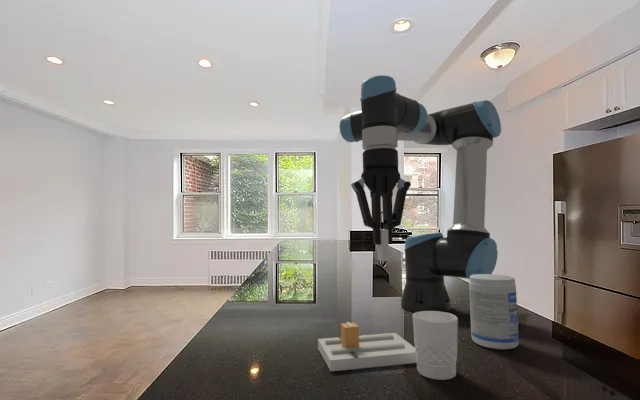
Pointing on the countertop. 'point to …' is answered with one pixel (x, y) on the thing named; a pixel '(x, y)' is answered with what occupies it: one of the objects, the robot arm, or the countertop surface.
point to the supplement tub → (493, 311)
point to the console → (367, 352)
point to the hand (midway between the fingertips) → (383, 260)
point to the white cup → (436, 344)
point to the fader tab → (349, 335)
